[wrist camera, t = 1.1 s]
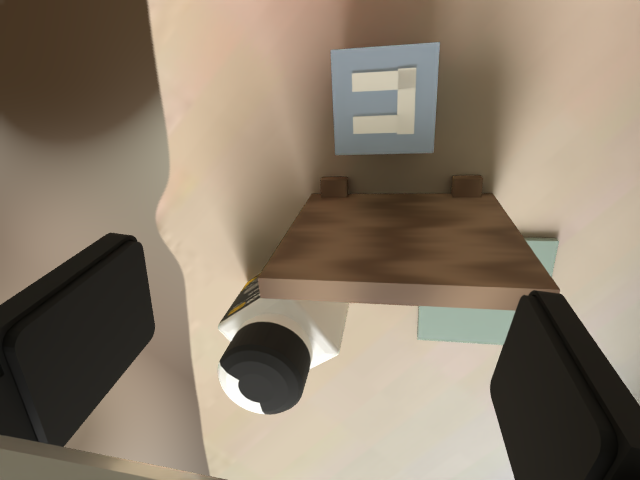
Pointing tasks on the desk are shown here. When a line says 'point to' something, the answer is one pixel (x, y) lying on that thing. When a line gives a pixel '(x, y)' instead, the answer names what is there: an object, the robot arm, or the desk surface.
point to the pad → (478, 311)
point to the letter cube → (385, 99)
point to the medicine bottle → (276, 347)
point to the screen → (405, 250)
